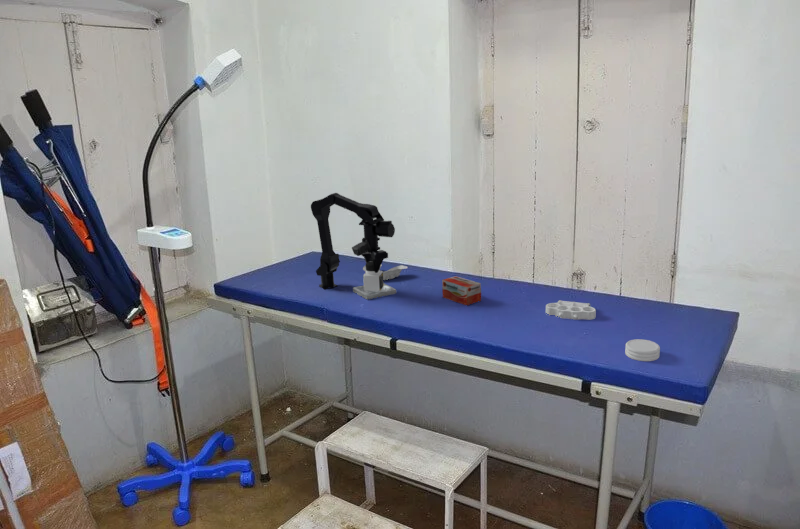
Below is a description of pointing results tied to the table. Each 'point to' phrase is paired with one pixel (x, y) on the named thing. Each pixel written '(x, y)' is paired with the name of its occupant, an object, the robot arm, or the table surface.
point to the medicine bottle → (372, 278)
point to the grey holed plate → (571, 310)
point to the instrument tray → (374, 292)
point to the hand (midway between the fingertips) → (372, 271)
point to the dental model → (391, 272)
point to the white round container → (642, 350)
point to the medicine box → (461, 290)
